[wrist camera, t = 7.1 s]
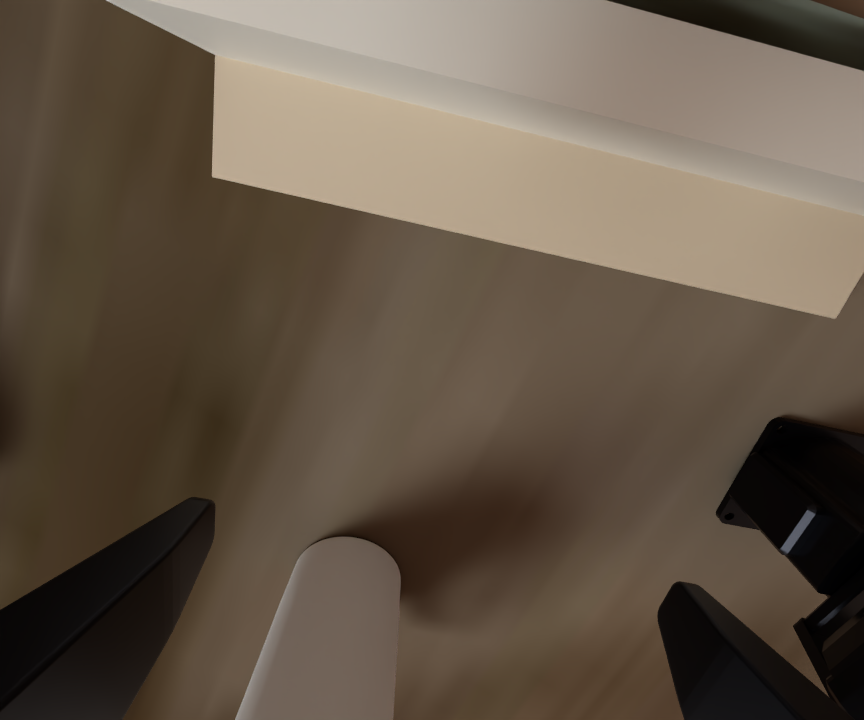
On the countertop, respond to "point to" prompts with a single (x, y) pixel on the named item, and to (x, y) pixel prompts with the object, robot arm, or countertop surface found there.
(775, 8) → the picture frame
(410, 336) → the countertop surface
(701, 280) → the long wooden tray
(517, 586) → the countertop surface
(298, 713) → the mug
